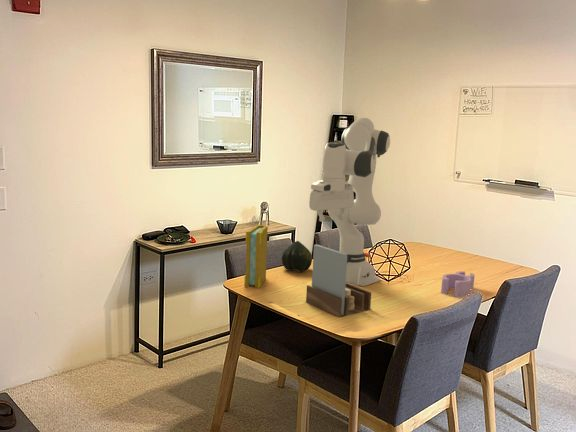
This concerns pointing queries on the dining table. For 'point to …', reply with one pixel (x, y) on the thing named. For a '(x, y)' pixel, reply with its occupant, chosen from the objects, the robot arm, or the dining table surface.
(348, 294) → the offcut top
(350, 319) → the dining table surface
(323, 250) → the sheet
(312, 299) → the rack
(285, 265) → the squash
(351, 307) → the offcut bottom
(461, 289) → the clip
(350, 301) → the offcut middle
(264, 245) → the book
